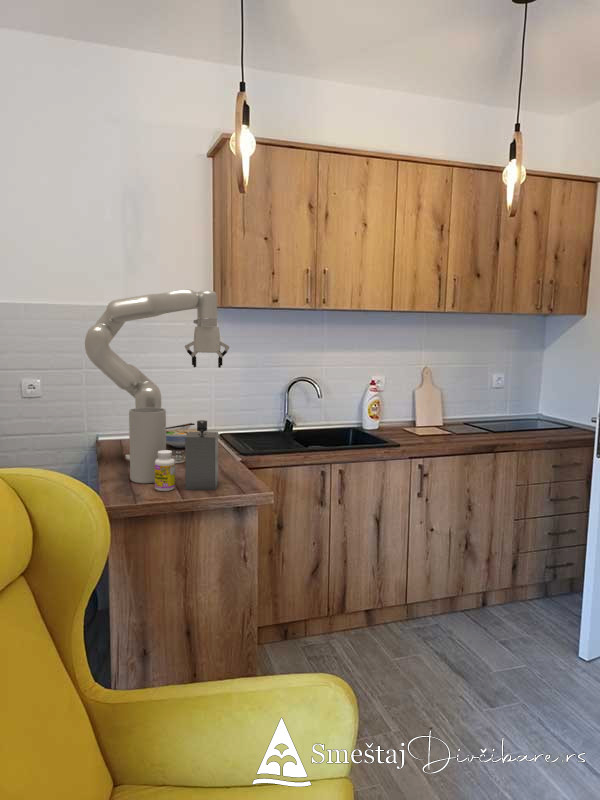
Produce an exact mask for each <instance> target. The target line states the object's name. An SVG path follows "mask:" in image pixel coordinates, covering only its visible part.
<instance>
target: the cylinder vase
mask: <svg viewBox="0 0 600 800" xmlns="http://www.w3.org/2000/svg"><path fill="white" fill-rule="evenodd" d="M166 419H167V411H166V409H165V408H162V407H161V408H151V407H148V408H136V407H135V408H131V409H128V421H129V422H128V427H129V428H128V432H129V455H130V460H129V479H130V481H132V482H133V483H136V484H137V483H138V484H155V460H156V459H158V451H162V450H167V444H166V427H167V420H166Z"/></svg>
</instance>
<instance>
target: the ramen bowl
mask: <svg viewBox="0 0 600 800" xmlns="http://www.w3.org/2000/svg"><path fill="white" fill-rule="evenodd" d="M195 425H196V423H194V422H189V423H184V424H179V425H173V426H166V445H170V446H172V447H173V448H177V449H179V448H180V449H182V448H183V449H184V448H185V437H186V435H187V434H188V433H189V432H200V431H197V426H195ZM204 432H208V430H207V431H204Z"/></svg>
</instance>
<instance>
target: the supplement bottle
mask: <svg viewBox="0 0 600 800" xmlns="http://www.w3.org/2000/svg"><path fill="white" fill-rule="evenodd" d="M172 455H173V451H172V450H168V449H166V450H162V451H158V459H156V460H155V483H154V489H155V490H156V491H160V492H170V491H172V490H174V489H175V487H176V460H175V459H174V458H172Z"/></svg>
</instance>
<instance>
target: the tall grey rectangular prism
mask: <svg viewBox="0 0 600 800" xmlns="http://www.w3.org/2000/svg"><path fill="white" fill-rule="evenodd" d="M184 455H185V458H184V459H185V461H184V462H185V463H184V464H185V465H184V466H185V469H184V471H185V477H184V478H185V480H184V481H185V482H184V483H185V490H186V491H193V490H194V491H195V490H196V491H197V490H198V491H215V490H217V487H218V484H219V431H207V432H204V435H200V432H189V433H188V434H187V435H186V437H185V451H184Z"/></svg>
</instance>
